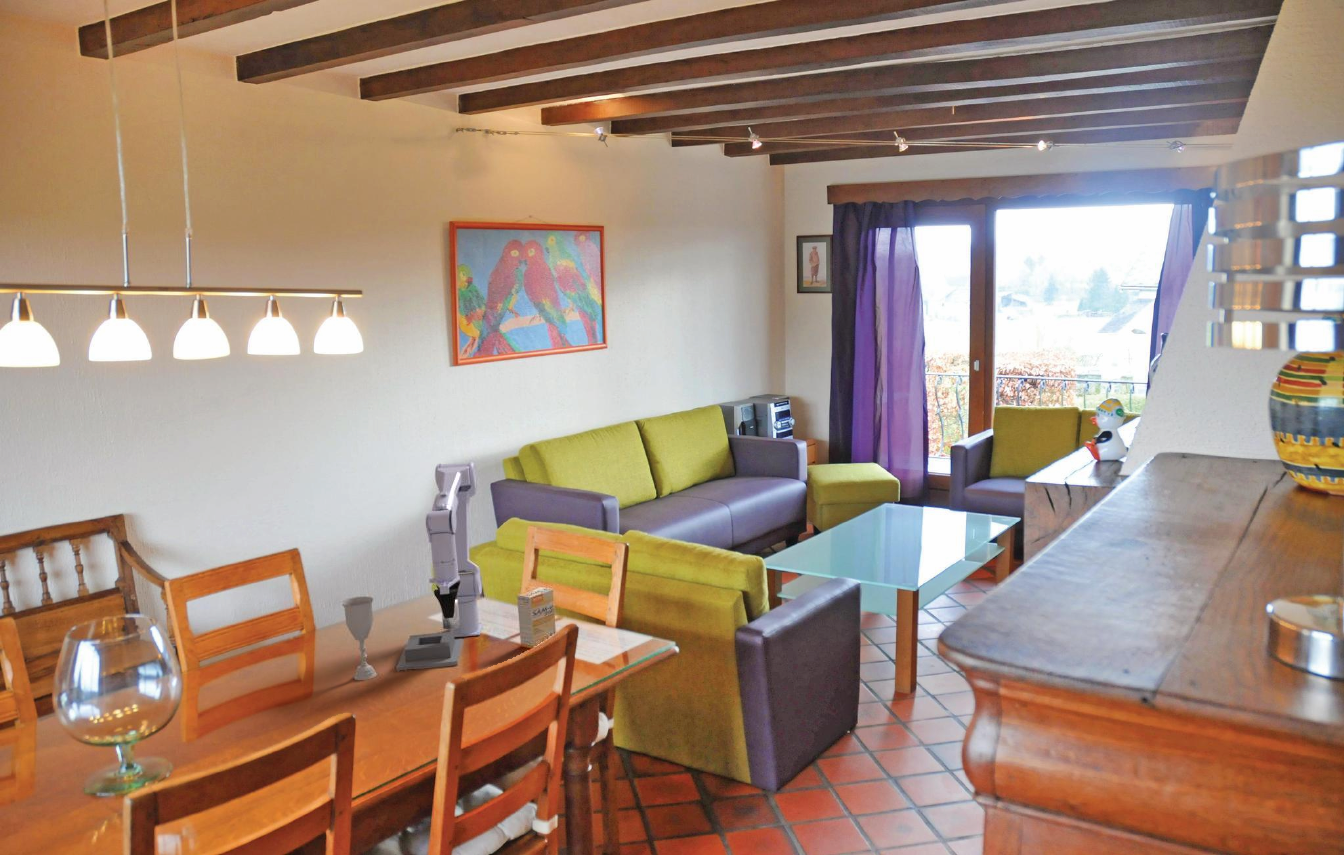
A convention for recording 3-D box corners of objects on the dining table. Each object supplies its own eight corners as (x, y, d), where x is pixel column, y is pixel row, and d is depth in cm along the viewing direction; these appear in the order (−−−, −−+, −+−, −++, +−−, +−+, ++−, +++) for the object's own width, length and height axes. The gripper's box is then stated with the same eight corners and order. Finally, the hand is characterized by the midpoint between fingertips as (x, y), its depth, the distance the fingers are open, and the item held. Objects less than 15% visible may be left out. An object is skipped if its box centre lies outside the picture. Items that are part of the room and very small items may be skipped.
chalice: (342, 679, 233) (334, 603, 231) (364, 668, 239) (356, 595, 237) (366, 683, 230) (358, 606, 227) (387, 672, 236) (380, 598, 233)
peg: (443, 624, 245) (441, 592, 244) (460, 623, 245) (458, 591, 244) (442, 630, 241) (439, 597, 240) (459, 628, 241) (456, 596, 240)
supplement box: (534, 649, 245) (529, 597, 243) (520, 646, 248) (515, 594, 246) (557, 639, 251) (553, 588, 250) (543, 636, 254) (539, 585, 253)
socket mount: (406, 648, 252) (404, 632, 251) (463, 642, 253) (461, 627, 253) (396, 671, 236) (395, 654, 236) (457, 665, 238) (456, 648, 237)
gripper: (430, 553, 247) (435, 607, 249) (424, 569, 233) (429, 626, 235) (459, 551, 248) (464, 604, 250) (455, 566, 234) (460, 622, 236)
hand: (449, 614), depth 242 cm, fingers closed on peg, 4 cm apart
